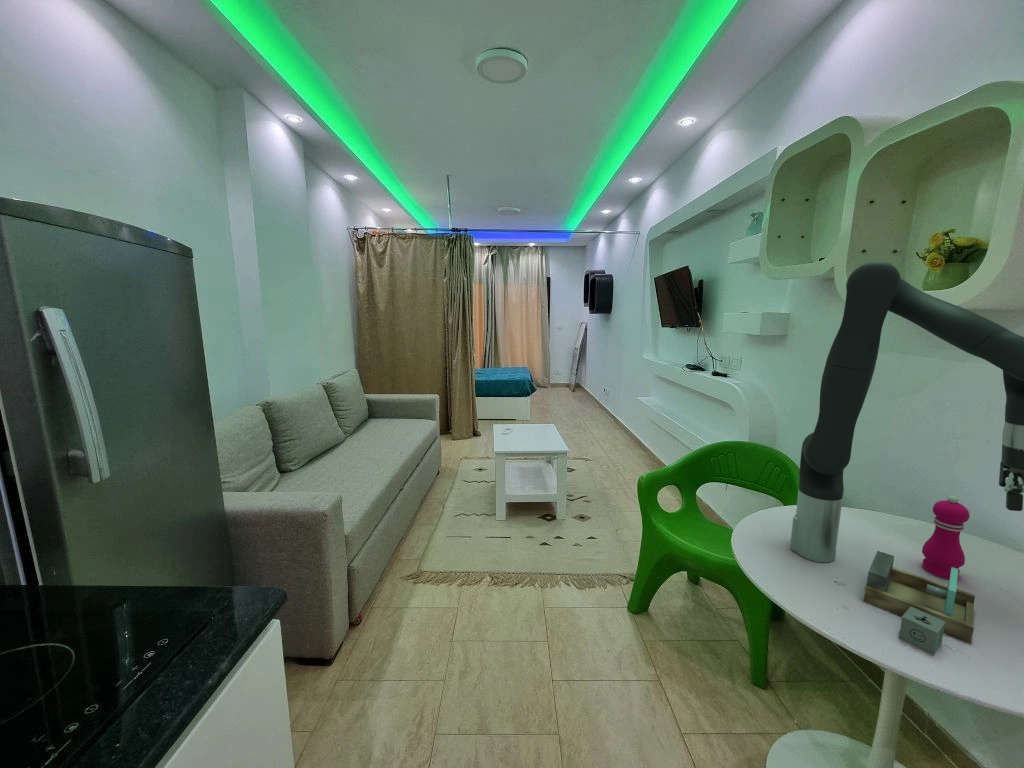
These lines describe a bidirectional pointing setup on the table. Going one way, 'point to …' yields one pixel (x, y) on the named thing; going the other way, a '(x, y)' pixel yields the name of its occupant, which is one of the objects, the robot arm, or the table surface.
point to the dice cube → (922, 630)
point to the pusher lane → (917, 596)
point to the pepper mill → (945, 538)
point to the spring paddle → (947, 592)
